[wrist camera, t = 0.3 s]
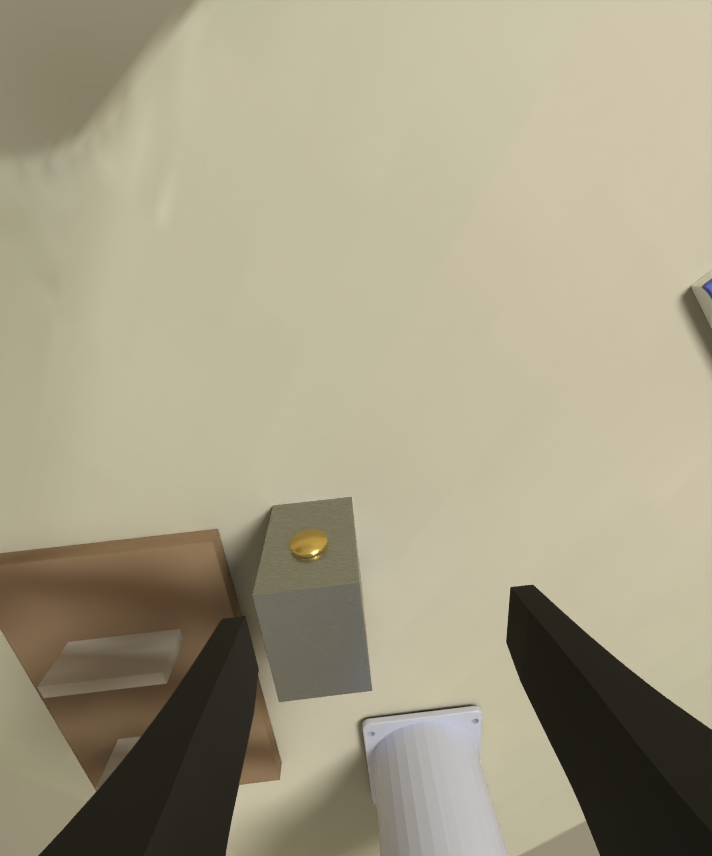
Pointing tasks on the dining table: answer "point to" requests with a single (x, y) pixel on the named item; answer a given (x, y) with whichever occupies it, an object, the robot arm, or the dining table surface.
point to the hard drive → (704, 294)
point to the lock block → (313, 601)
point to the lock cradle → (121, 638)
